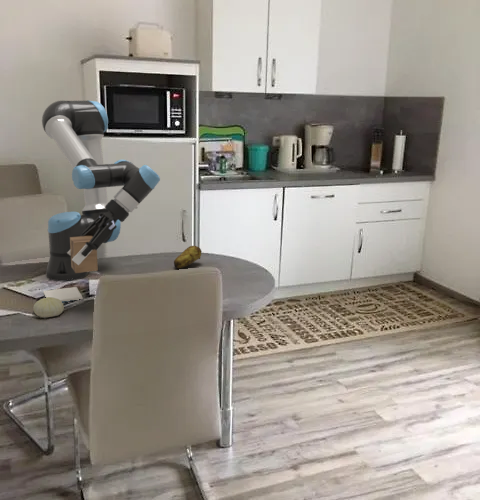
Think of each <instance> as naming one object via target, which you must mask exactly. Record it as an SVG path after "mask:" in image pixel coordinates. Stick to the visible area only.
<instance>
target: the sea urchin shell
mask: <svg viewBox="0 0 480 500" xmlns="http://www.w3.org/2000/svg"><path fill="white" fill-rule="evenodd" d="M32 309H33V312H34V314H35V315H37V317H40V318H53V317H57V316H59V315H61V314H62V313H63V312H64V309H65V306H64V303H62V301H60V300H59V299H56V298H52V297H46V298H45V297H43V298H40V299H39V300H37V301H36V302H35V303H34V305H33V308H32Z"/></svg>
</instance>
